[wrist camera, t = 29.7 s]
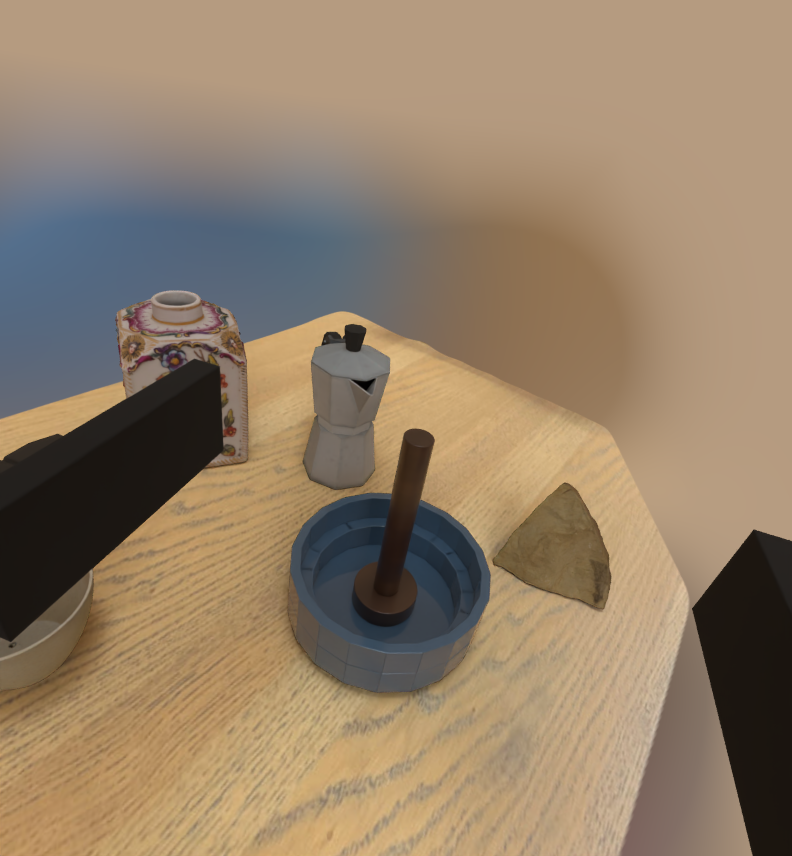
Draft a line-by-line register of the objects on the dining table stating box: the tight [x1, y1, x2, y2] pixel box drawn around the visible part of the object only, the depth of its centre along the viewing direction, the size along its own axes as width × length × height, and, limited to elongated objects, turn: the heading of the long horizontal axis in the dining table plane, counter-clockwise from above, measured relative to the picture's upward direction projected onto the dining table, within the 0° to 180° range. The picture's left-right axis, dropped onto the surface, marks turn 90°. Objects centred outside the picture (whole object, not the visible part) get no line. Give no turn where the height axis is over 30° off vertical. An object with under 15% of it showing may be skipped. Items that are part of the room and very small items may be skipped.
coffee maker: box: [303, 324, 390, 490], centre depth 56 cm, size 15×9×18 cm, turn 23°
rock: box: [493, 483, 611, 609], centre depth 48 cm, size 11×9×10 cm
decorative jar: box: [115, 291, 248, 468], centre depth 54 cm, size 12×12×18 cm
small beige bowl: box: [0, 569, 94, 690], centre depth 34 cm, size 10×10×7 cm
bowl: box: [288, 493, 491, 693], centre depth 43 cm, size 17×17×6 cm
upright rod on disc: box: [352, 429, 435, 627], centre depth 39 cm, size 6×6×18 cm
